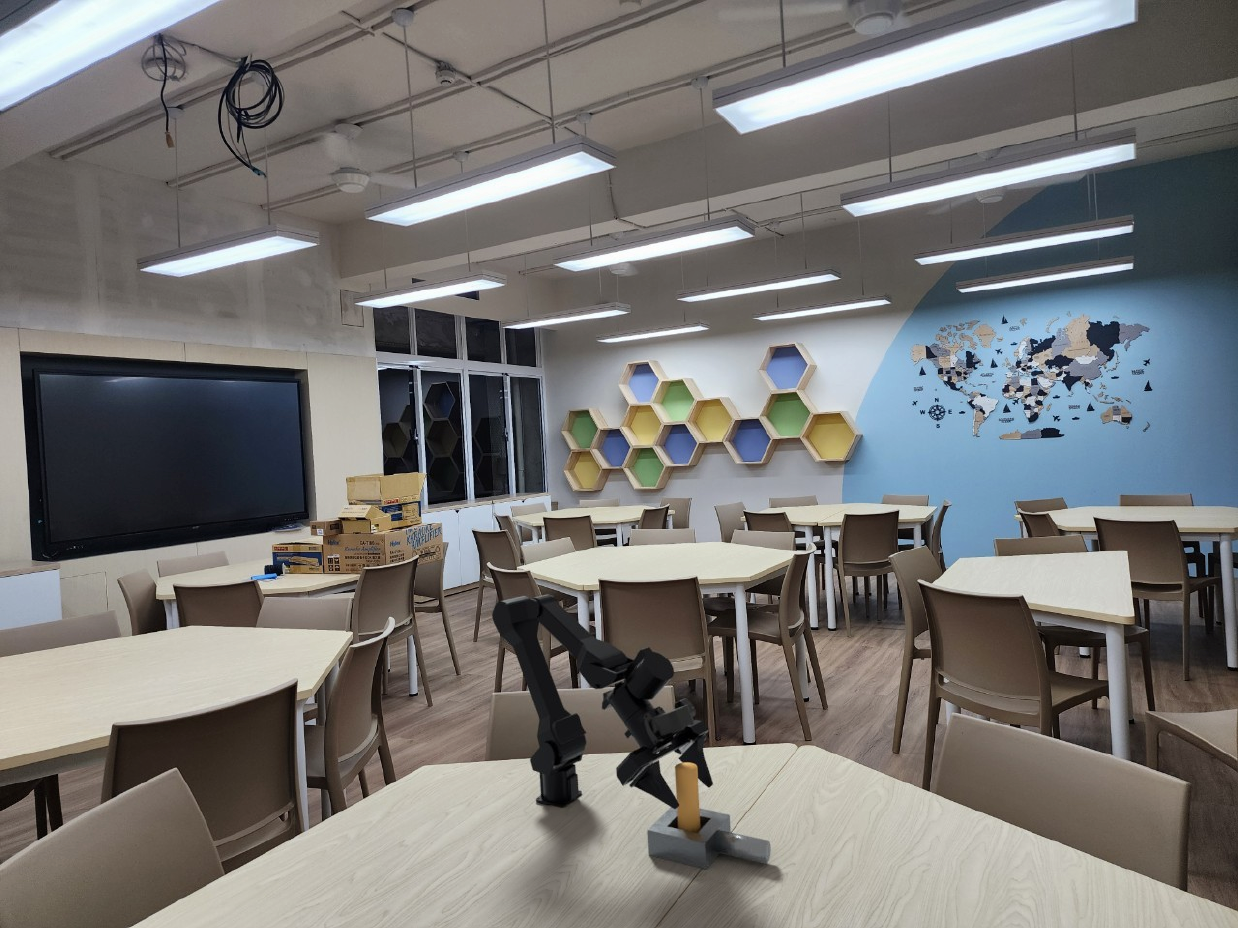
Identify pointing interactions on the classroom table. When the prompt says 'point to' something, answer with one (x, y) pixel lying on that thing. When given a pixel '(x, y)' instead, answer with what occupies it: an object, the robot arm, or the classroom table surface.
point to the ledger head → (703, 840)
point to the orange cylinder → (687, 797)
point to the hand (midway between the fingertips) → (694, 796)
